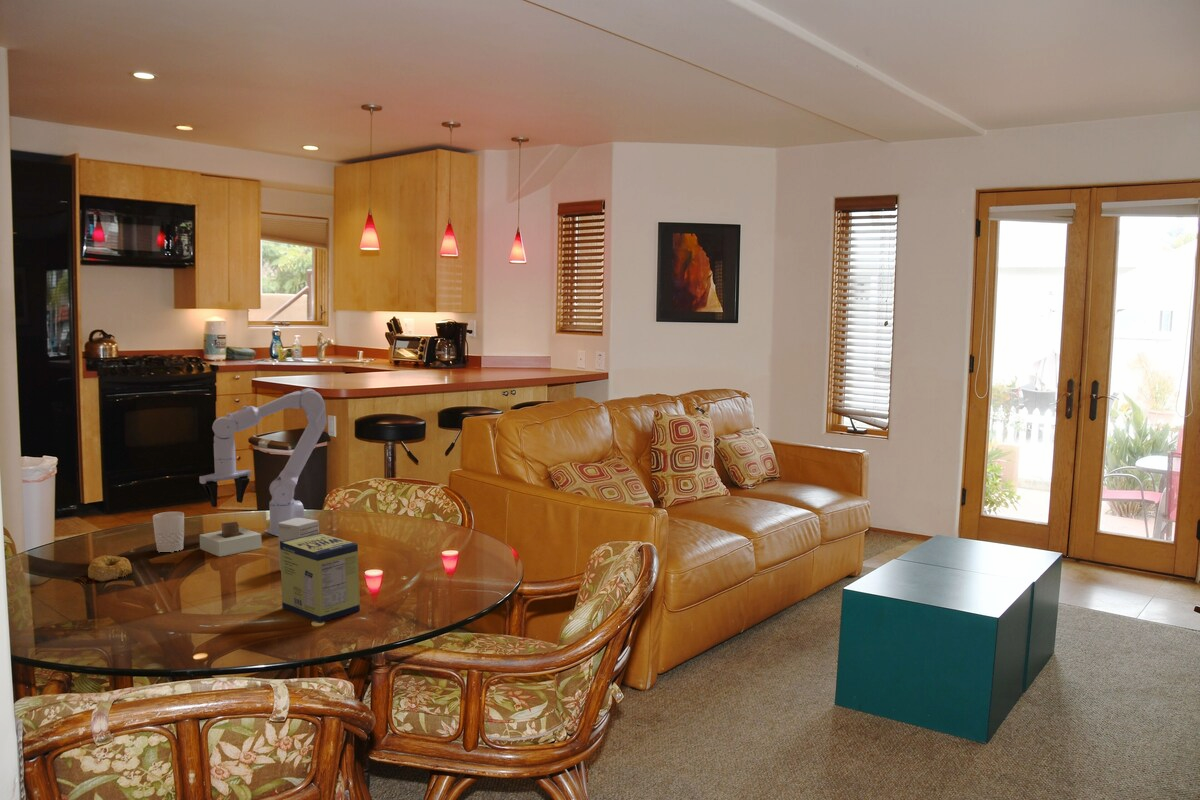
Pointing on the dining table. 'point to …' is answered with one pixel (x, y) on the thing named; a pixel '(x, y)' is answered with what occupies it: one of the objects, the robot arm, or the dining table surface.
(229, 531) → the peg
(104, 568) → the bagel
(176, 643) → the dining table surface
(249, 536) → the socket block
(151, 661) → the dining table surface
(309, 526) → the supplement box
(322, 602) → the protein box
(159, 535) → the white cup
